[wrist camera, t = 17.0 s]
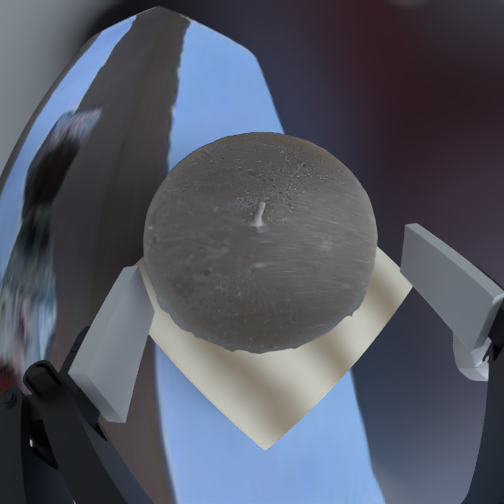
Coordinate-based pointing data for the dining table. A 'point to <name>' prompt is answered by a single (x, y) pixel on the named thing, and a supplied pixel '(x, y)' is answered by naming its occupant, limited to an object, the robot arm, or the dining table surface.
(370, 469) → the dining table surface
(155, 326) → the plate
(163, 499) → the dining table surface
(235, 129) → the dining table surface
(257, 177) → the pillar candle
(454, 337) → the decorative vase
